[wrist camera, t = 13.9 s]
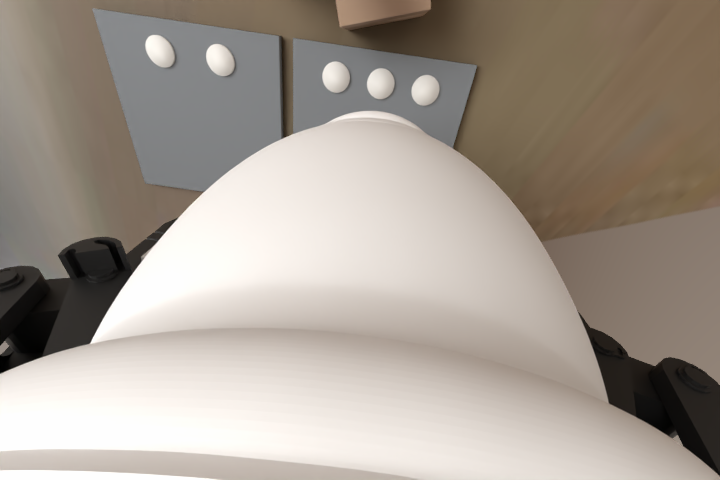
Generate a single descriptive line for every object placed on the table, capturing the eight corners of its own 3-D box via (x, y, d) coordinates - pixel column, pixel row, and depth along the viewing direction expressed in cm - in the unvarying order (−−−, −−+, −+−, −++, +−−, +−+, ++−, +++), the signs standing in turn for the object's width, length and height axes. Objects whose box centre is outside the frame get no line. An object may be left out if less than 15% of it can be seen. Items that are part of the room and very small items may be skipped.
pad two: (149, 180, 28) (143, 184, 27) (99, 9, 21) (89, 8, 20) (284, 200, 28) (282, 204, 28) (281, 36, 21) (278, 36, 20)
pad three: (295, 201, 28) (292, 205, 28) (295, 38, 21) (292, 38, 20) (429, 220, 28) (430, 225, 28) (475, 65, 21) (478, 65, 20)
